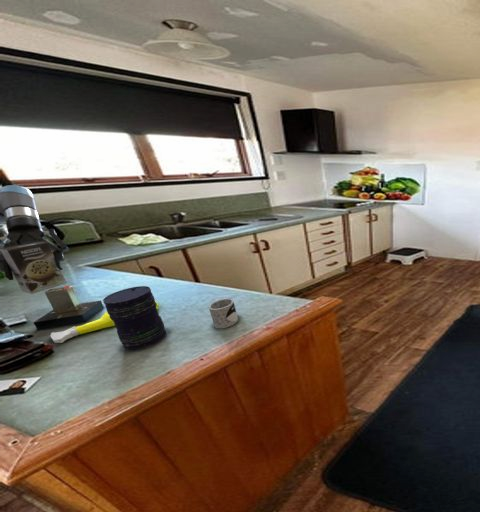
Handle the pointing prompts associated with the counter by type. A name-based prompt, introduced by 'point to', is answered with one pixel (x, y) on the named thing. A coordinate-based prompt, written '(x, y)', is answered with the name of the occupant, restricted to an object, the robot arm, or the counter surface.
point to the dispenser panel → (69, 316)
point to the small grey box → (63, 299)
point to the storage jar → (135, 317)
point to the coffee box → (33, 266)
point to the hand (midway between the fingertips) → (35, 273)
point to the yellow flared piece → (85, 328)
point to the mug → (223, 313)
